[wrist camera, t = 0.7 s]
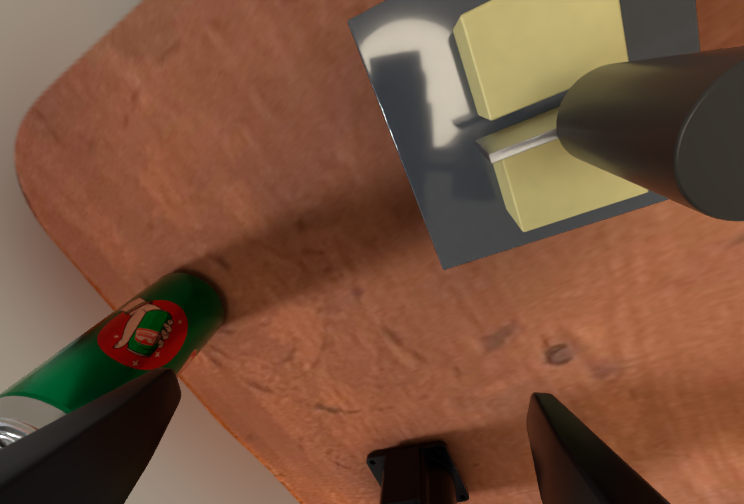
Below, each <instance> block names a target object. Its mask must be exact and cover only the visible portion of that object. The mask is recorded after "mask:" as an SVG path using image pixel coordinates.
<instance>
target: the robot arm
mask: <svg viewBox="0 0 744 504" xmlns="http://www.w3.org/2000/svg"><path fill="white" fill-rule="evenodd" d="M180 399H181V390H180V386H179V383H178V380H177V376H176V373H175V371H174V370H173V369H171V368H161V367H159V368H155V369H153V370H151V371H149V372H147V373H145V374H143V375H141V376H139V377H137V378H136V379H134V380H132V381H130V382H128V383H126V384H124V385H122V386H120V387H118V388H116V389H114V390H113V391H111V392H109V393H107V394H105V395H103V396H101V397H99V398H97V399H95V400H93V401H91V402H90V403H88V404H86V405H84V406H82V407H80V408H78V409H76V410H74V411H72V412H70V413H68V414H66V415H65V416H63V417H61V418H59V419H57V420H55V421H53V422H51V423H49V424H47V425H45V426H43V427H42V428H40V429H38V430H36V431H34V432H32V433H30V434H28V435H26V436H24V437H22V438H20V439H18V440H17V441H15V442H13V443H11V444H9V445H7V446H5V447H3V448H1V449H0V504H124V503H125V501H126V499H127V498H128V496H129V494H130V493H131V491H132V490H133V488H134V486H135V485H136V483H137V481H138V480H139V478H140V476H141V475H142V473H143V472H144V470H145V468H146V467H147V465H148V463H149V461H150V460H151V458H152V456H153V454H154V452H155V450H156V448H157V446H158V444H159V442H160V440H161V438H162V436H163V434H164V432H165V430H166V428H167V426H168V424H169V422H170V420H171V418H172V416H173V414H174V412H175V410H176V408H177V406H178V404H179V402H180ZM526 423H527V431H528V436H529V441H530V446H531V451H532V456H533V461H534V466H535V471H536V476H537V481H538V486H539V491H540V495H541V499H542V503H543V504H670V503H669V502H668V501H667V500H666V499H665V498H664V497H663V496H662V495H661V494H660V493H658V492H657V491H656V490H655V489H654V488H653V487H652V486H651V485H650V484H649V483H648V482H647V481H645V480H644V479H643V478H642V477H641V476H640V475H639V474H638V473H637V472H636V471H635V470H633V469H632V468H631V467H630V466H629V465H628V464H627V463H626V462H625V461H624V460H623V459H622V458H620V457H619V456H618V455H617V454H616V453H615V452H614V451H613V450H612V449H611V448H610V447H609V446H607V445H606V444H605V443H604V442H603V441H602V440H601V439H600V438H599V437H598V436H597V435H596V434H594V433H593V432H592V431H591V430H590V429H589V428H588V427H587V426H586V425H585V424H584V423H583V422H581V421H580V420H579V419H578V418H577V417H576V416H575V415H574V414H573V413H572V412H571V411H570V410H568V409H567V408H566V407H565V406H564V405H563V404H562V403H561V402H560V401H559V400H558V399H557V398H555V397H554V396H553V395H552V394H549V393H538V392H535V393H532V395H531V397H530V403H529V408H528V413H527V420H526ZM366 462H367V465H368V466H369V468H370V470H371V471H372V473H373V475H374V476H375V478H376V480H377V481H378V483H379V485H380V487H381V493H380V504H457V502H463V501H467V500H468V499H469V492H468V489H467V487H466V485H465V483H464V481H463V479H462V477H461V474H460V472H459V470H458V468H457V466H456V464H455V462H454V460H453V457H452V455H451V453H450V451H449V449H448V447H447V445H446V443H445V442H443V441H434V442H429V443H423V444H418V445H413V446H408V447H402V448H397V449H392V450H387V451H381V452H376V453H371V454H369V455H368V456H367V461H366Z"/></svg>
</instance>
